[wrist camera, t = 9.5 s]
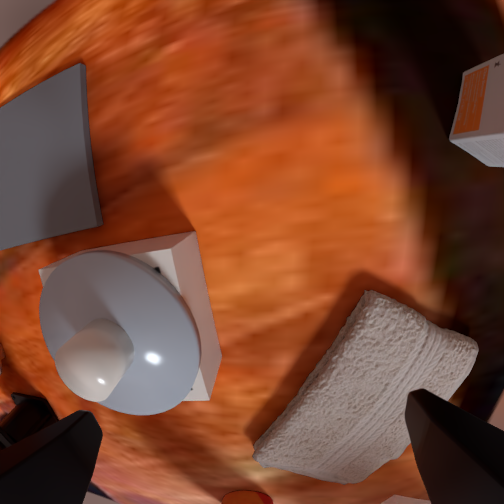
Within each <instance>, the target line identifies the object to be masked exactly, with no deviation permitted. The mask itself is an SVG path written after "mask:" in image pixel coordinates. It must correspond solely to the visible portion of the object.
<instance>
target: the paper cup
mask: <svg viewBox="0 0 504 504" xmlns="http://www.w3.org/2000/svg"><path fill="white" fill-rule="evenodd" d="M221 504H273V500H272V499H271V498H270V497H269V496H268V495H266V494H263V493H260V492H256V491H248V490H241V491H234V492H230V493H228V494H226V495H225V496H224V498H223V500H222V503H221Z"/></svg>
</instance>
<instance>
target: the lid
mask: <svg viewBox="0 0 504 504" xmlns="http://www.w3.org/2000/svg"><path fill="white" fill-rule="evenodd" d="M39 314H40V324H41V329H42V333H43V337H44V340H45V342H46V345H47V347H48V350H49V352H50V354H51V356H52V357H53V359H54V361H55V365H56V369H57V371H58V374H59V376H60V377H61V379H62V380H63V382H64V383H65V384H66V386H67V387H68V388H69V389H70V390H72V391H73V392H74V393H75V394H77V395H78V396H80V397H82V398H84V399H86V400H89V401H94V402H98V403H99V404H101V405H103V406H105V407H108V408H110V409H113V410H115V411H118V412H122V413H126V414H133V415H152V414H158V413H162V412H165V411H167V410H169V409H172V408H173V407H175V406H176V405H178V404H179V403H180V402H181V401H182V400H183V399H184V398H185V397H186V396H187V395H188V393H189V392H190V390H191V388H192V386H193V384H194V382H195V379H196V376H197V374H198V371H199V367H200V363H201V354H202V352H201V340H200V335H199V330H198V327H197V324H196V321H195V319H194V317H193V315H192V312H191V310H190V308H189V307H188V305H187V303H186V302H185V300H184V299H183V297H182V296H181V295H180V293H179V292H178V291H177V289H176V288H175V287H174V286H173V285H172V284H171V283H170V282H169V281H168V280H167V279H166V278H165V277H164V276H163V275H162V274H160V273H159V272H158V271H157V270H156V269H154V268H153V267H151V266H150V265H148V264H147V263H145V262H143V261H141V260H139V259H137V258H135V257H133V256H130V255H127V254H125V253H121V252H117V251H112V250H94V251H89V252H85V253H82V254H79V255H77V256H75V257H73V258H71V259H69V260H67V261H65V262H63V263H62V264H60V265H59V266H58V267H56V268H55V270H54V271H53V272H52V273H51V274H50V276H49V277H48V279H47V280H46V282H45V285H44V287H43V290H42V294H41V298H40V306H39Z"/></svg>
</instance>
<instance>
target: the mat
mask: <svg viewBox="0 0 504 504" xmlns="http://www.w3.org/2000/svg"><path fill="white" fill-rule="evenodd" d="M101 225H103V220H102V215H101V210H100V204H99V198H98V192H97V186H96V180H95V173H94V166H93V158H92V150H91V141H90V131H89V120H88V107H87V89H86V66H85V65H83V64H81V63H79V64H77V65H75V66H72V67H70V68H68V69H66V70H64V71H62V72H60V73H58V74H56V75H55V76H53V77H51V78H49V79H47V80H45V81H43V82H42V83H40V84H38V85H36V86H35V87H33V88H31V89H29V90H28V91H26V92H24V93H23V94H21V95H19V96H18V97H16V98H15V99H13V100H12V101H10V102H8V103H7V104H5V105H4V106H2V107H1V108H0V250H3V249H7V248H11V247H14V246H18V245H22V244H26V243H30V242H34V241H38V240H42V239H46V238H50V237H54V236H58V235H62V234H67V233H71V232H75V231H80V230H84V229H88V228H93V227H97V226H101Z"/></svg>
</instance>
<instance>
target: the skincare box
mask: <svg viewBox="0 0 504 504" xmlns="http://www.w3.org/2000/svg"><path fill="white" fill-rule="evenodd" d="M449 140H450V141H451V142H452V143H454V144H456V145H457V146H459V147H461V148H462V149H464V150H465V151H467V152H468V153H470V154H471V155H473V156H474V157H476V158H477V159H478V160H480V161H481V162H483V163H484V164H485V165H487V166H491V167H504V54H502V55H500V56H498V57H495V58H493V59H491V60H489V61H486V62H484V63H482V64H480V65H478V66H476V67H474V68H471V69H470V70H467V71H465V72H464V73H463V77H462V85H461V89H460V95H459V100H458V105H457V110H456V114H455V118H454V121H453V125H452V129H451V133H450V136H449Z"/></svg>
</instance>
